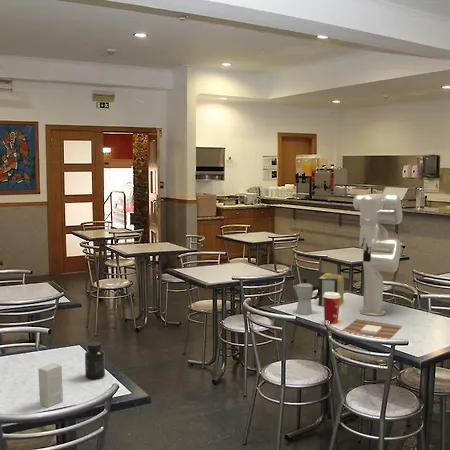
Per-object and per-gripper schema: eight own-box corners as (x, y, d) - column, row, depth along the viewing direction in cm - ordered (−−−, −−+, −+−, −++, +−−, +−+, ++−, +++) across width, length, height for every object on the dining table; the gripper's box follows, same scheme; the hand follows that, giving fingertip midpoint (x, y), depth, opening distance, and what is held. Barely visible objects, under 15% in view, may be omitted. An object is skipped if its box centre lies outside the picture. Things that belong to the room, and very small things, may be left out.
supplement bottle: (82, 375, 203) (81, 343, 201) (100, 371, 207) (99, 339, 205) (89, 381, 197) (89, 348, 196) (108, 377, 201) (107, 344, 200)
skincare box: (54, 398, 183) (53, 362, 182) (63, 401, 181) (62, 365, 179) (38, 404, 178) (37, 368, 177) (47, 408, 176) (46, 371, 174)
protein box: (343, 301, 314) (344, 274, 312) (337, 308, 300) (338, 279, 298) (325, 299, 318) (325, 272, 316) (317, 306, 304) (318, 277, 302)
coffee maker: (291, 314, 286) (292, 279, 284) (291, 310, 295) (292, 276, 293) (321, 315, 284) (322, 280, 282) (320, 311, 293) (321, 277, 291)
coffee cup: (339, 327, 264) (340, 296, 263) (322, 326, 266) (322, 295, 264) (339, 322, 273) (340, 292, 271) (322, 321, 274) (323, 291, 273)
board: (356, 321, 274) (356, 319, 274) (402, 328, 263) (402, 326, 263) (340, 334, 254) (340, 331, 254) (389, 342, 242) (389, 339, 242)
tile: (366, 324, 259) (360, 329, 252) (382, 326, 256) (376, 331, 248) (366, 327, 260) (360, 332, 252) (381, 330, 256) (376, 335, 248)
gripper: (364, 220, 273) (363, 258, 275) (355, 224, 260) (354, 263, 262) (380, 221, 269) (378, 259, 271) (371, 225, 256) (370, 264, 259)
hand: (366, 261), depth 267 cm, fingers closed
